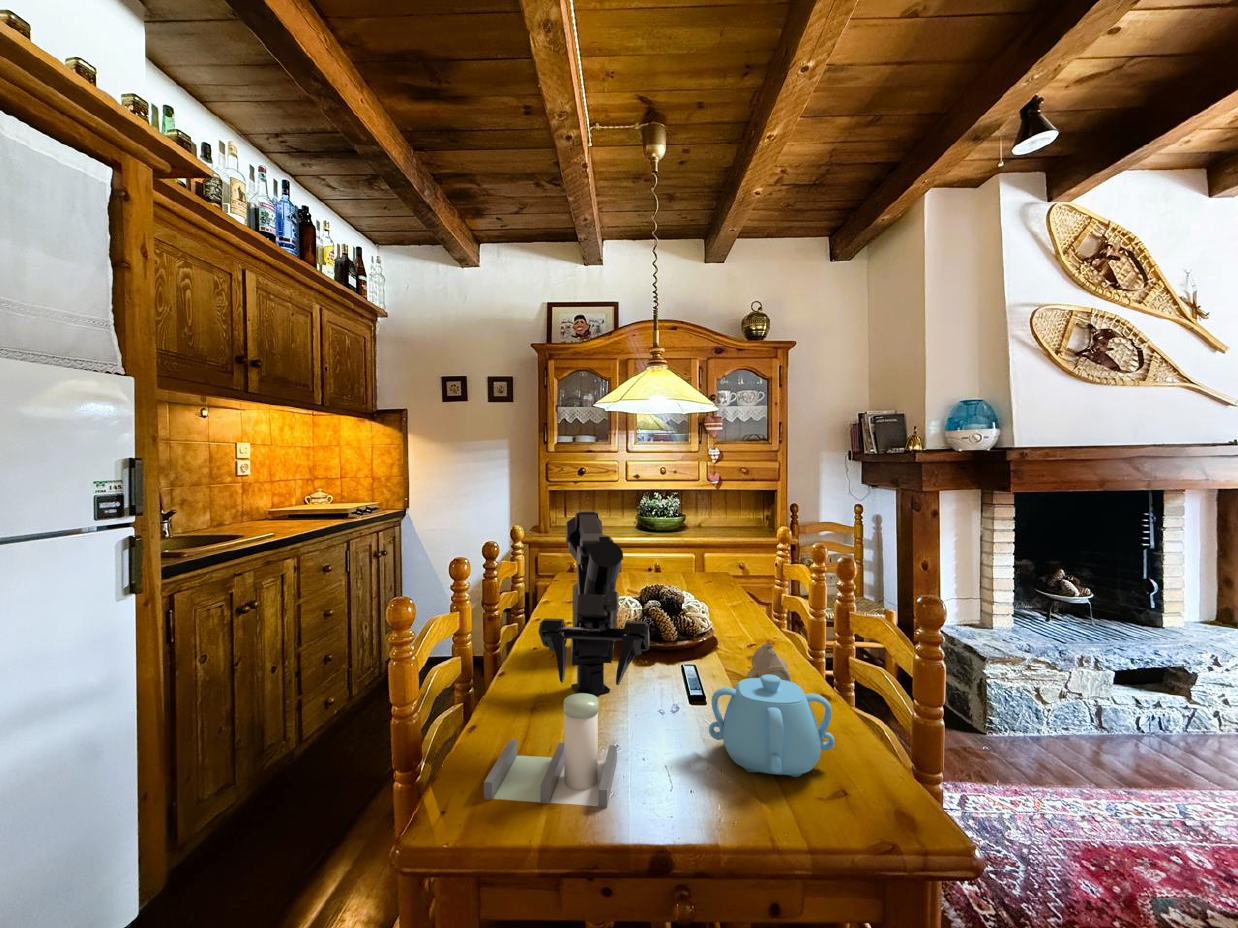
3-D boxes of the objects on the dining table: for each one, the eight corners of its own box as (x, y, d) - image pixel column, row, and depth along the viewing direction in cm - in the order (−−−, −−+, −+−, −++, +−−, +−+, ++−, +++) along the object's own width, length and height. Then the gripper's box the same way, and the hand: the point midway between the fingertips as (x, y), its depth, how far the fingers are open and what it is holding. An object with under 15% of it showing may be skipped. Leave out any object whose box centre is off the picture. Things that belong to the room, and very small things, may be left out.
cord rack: (509, 760, 90) (509, 739, 90) (616, 767, 88) (616, 745, 88) (483, 806, 78) (483, 781, 78) (606, 815, 76) (606, 790, 76)
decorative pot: (823, 735, 99) (823, 660, 99) (848, 802, 79) (848, 708, 79) (709, 725, 102) (710, 652, 102) (707, 787, 83) (707, 697, 83)
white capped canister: (558, 776, 84) (558, 697, 84) (589, 767, 86) (589, 690, 86) (572, 794, 79) (572, 711, 79) (604, 784, 82) (604, 703, 82)
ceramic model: (803, 704, 112) (803, 655, 112) (747, 702, 113) (747, 653, 112) (787, 677, 126) (787, 633, 126) (737, 675, 127) (738, 632, 127)
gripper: (541, 572, 96) (523, 657, 85) (648, 574, 94) (644, 662, 83) (551, 605, 104) (536, 688, 93) (650, 608, 102) (647, 693, 91)
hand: (589, 682), depth 90 cm, fingers open, 9 cm apart
